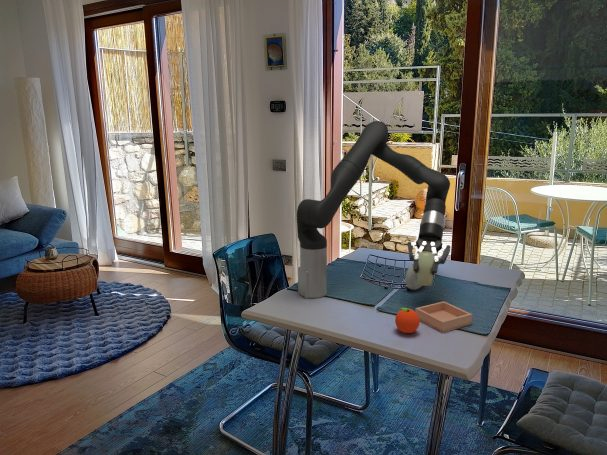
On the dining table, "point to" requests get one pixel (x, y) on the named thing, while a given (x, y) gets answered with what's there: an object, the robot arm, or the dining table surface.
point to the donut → (411, 279)
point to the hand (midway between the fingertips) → (424, 272)
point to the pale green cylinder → (425, 268)
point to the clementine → (407, 320)
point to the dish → (443, 316)
